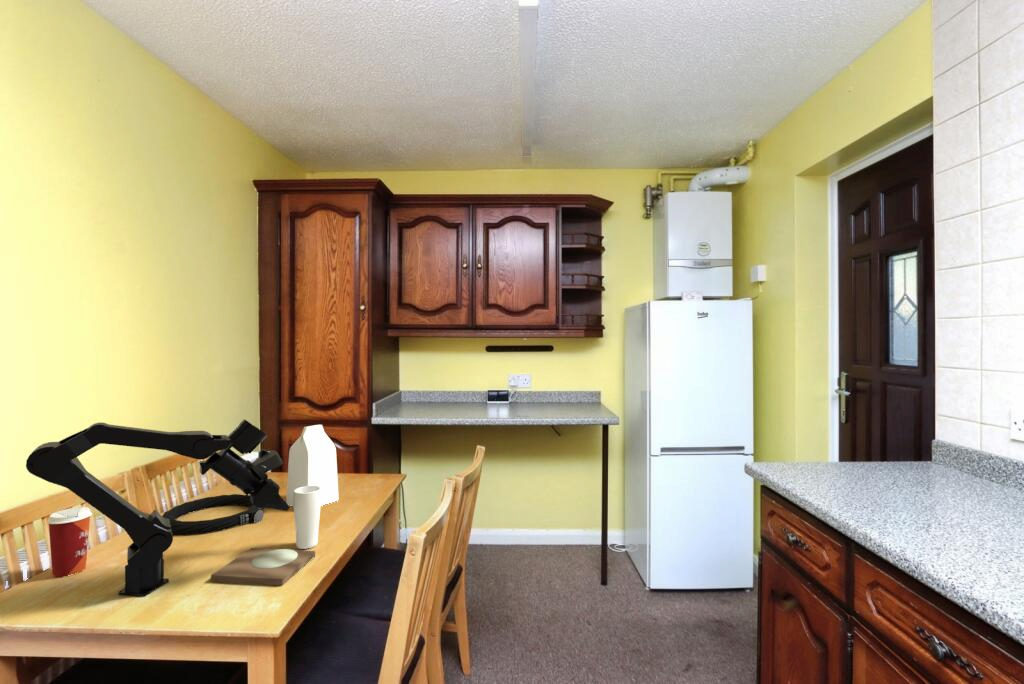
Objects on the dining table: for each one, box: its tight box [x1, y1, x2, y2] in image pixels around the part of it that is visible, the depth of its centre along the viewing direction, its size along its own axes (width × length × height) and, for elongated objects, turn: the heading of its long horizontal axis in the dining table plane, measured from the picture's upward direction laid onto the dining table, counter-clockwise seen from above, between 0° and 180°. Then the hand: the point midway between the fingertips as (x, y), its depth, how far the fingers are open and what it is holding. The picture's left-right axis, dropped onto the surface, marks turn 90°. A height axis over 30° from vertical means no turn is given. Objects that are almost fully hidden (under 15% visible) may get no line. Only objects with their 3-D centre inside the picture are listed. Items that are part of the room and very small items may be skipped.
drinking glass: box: [292, 486, 322, 550], centre depth 123 cm, size 7×7×15 cm
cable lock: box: [161, 493, 265, 535], centre depth 142 cm, size 28×4×30 cm
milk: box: [285, 424, 340, 507], centre depth 156 cm, size 12×12×26 cm
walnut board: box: [210, 547, 316, 586], centre depth 110 cm, size 14×17×2 cm
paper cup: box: [46, 506, 93, 578], centre depth 109 cm, size 8×8×14 cm
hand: (283, 504), depth 119 cm, fingers open, 9 cm apart
